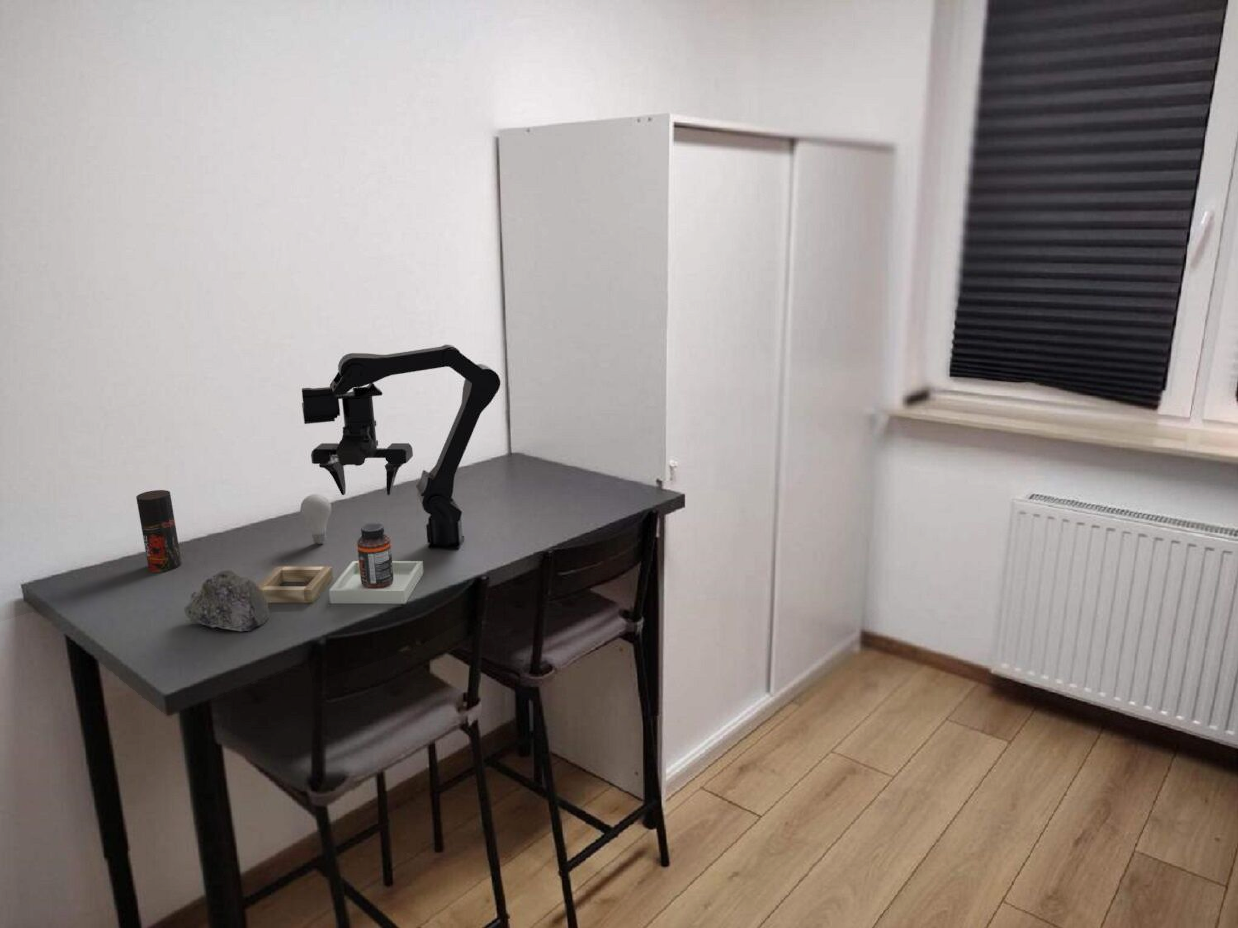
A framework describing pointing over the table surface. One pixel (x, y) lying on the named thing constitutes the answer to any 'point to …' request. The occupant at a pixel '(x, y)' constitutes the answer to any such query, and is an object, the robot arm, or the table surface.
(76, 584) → the table surface
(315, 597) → the collar socket
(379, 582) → the supplement bottle
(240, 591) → the mineral rock
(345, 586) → the tray
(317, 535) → the lightbulb
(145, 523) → the deodorant
